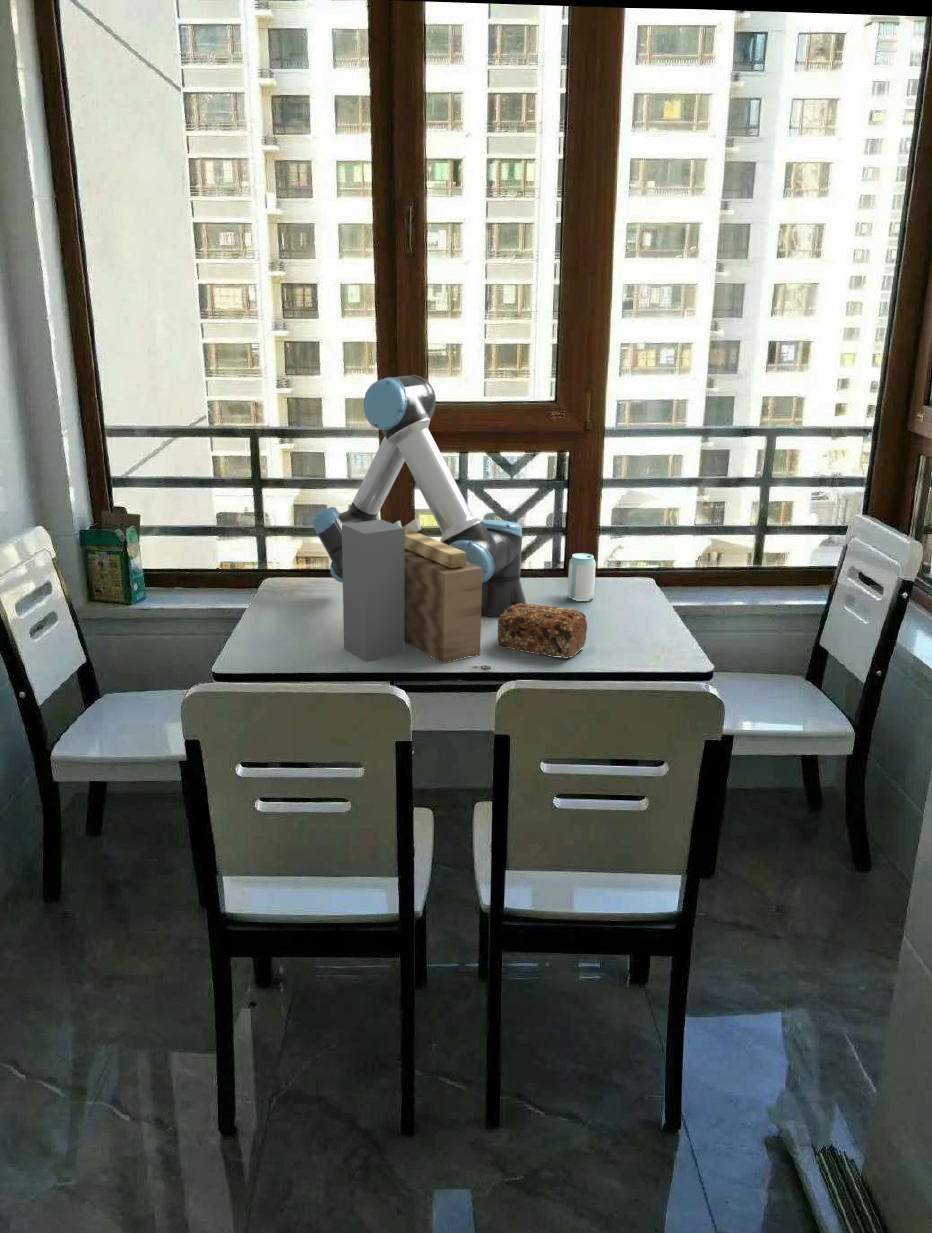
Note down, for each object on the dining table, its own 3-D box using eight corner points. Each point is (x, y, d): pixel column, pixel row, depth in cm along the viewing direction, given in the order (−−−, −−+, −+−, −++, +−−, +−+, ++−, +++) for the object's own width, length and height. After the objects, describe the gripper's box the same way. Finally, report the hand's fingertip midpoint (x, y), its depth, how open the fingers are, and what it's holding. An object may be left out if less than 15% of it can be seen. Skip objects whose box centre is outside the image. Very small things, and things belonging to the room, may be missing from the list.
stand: (343, 648, 228) (341, 524, 219) (381, 640, 234) (381, 519, 225) (365, 661, 221) (364, 533, 212) (404, 653, 226) (404, 528, 217)
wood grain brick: (396, 637, 236) (396, 553, 230) (431, 630, 242) (432, 548, 235) (443, 663, 221) (444, 574, 214) (479, 655, 226) (482, 567, 220)
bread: (586, 649, 232) (589, 608, 229) (568, 662, 223) (571, 620, 220) (515, 634, 241) (516, 595, 238) (494, 647, 232) (496, 606, 229)
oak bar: (385, 539, 239) (385, 527, 238) (399, 537, 241) (399, 525, 240) (451, 568, 217) (451, 554, 216) (466, 565, 220) (466, 552, 219)
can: (578, 593, 274) (581, 551, 270) (598, 599, 269) (601, 556, 265) (561, 598, 269) (564, 555, 265) (582, 604, 264) (584, 560, 261)
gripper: (399, 563, 256) (444, 536, 237) (339, 573, 247) (381, 545, 227) (392, 536, 257) (436, 506, 238) (332, 544, 247) (373, 513, 228)
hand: (409, 525), depth 232 cm, fingers open, 4 cm apart
